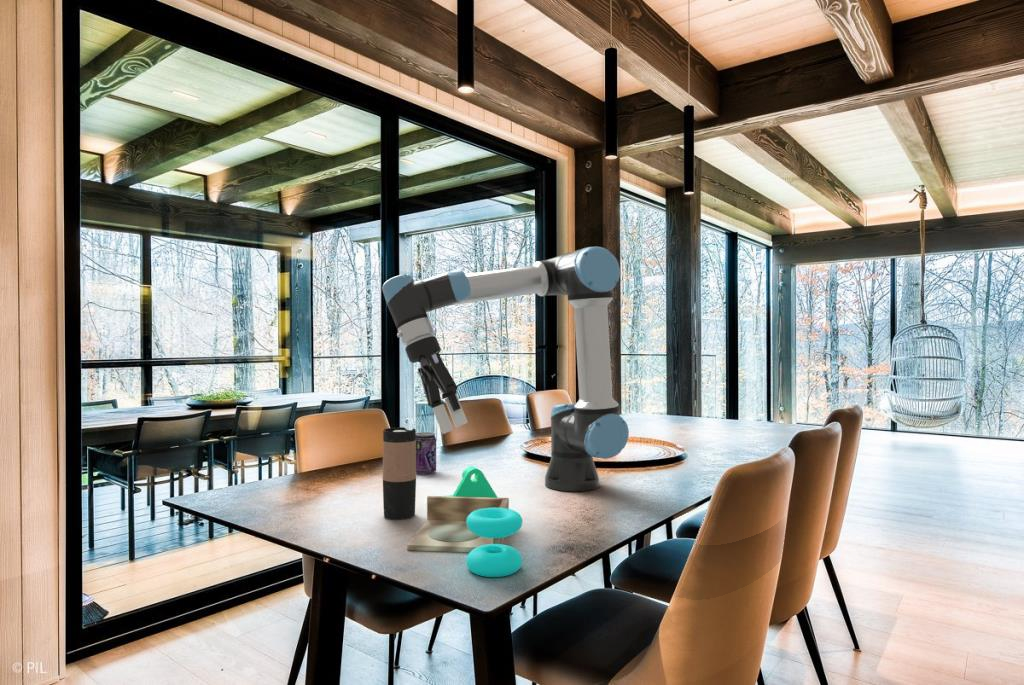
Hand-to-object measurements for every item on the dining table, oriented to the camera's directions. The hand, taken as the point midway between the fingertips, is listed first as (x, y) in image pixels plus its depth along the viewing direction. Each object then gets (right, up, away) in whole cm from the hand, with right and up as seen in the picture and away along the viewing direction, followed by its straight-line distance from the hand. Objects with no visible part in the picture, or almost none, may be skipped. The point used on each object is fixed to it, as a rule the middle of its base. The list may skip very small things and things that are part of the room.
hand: (454, 429), depth 137 cm
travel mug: (-13, -21, +6) cm, 26 cm away
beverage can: (-14, -21, +52) cm, 58 cm away
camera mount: (+2, -21, +13) cm, 25 cm away
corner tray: (+2, -21, -10) cm, 23 cm away
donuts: (+10, -21, -27) cm, 36 cm away
